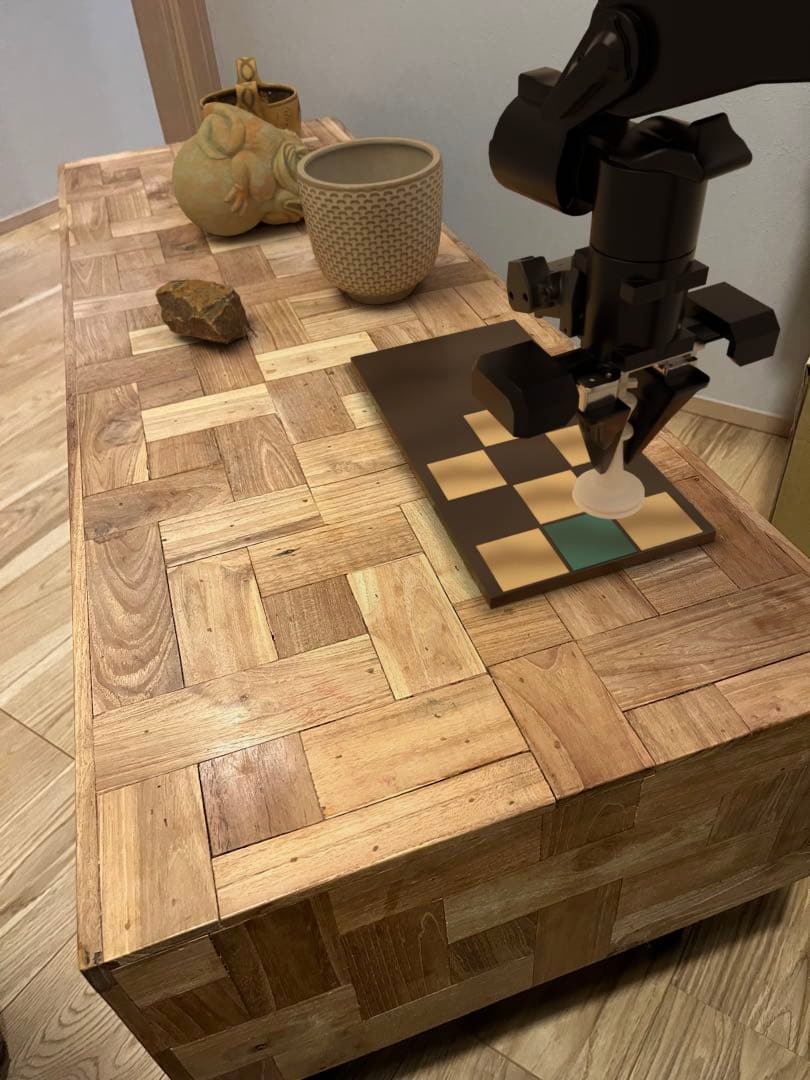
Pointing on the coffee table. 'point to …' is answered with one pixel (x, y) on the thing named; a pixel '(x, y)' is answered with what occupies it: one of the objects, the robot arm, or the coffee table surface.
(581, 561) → the game board
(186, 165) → the sculpture
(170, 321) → the rock
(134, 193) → the coffee table surface
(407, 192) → the planter
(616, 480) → the chess piece
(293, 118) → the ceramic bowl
